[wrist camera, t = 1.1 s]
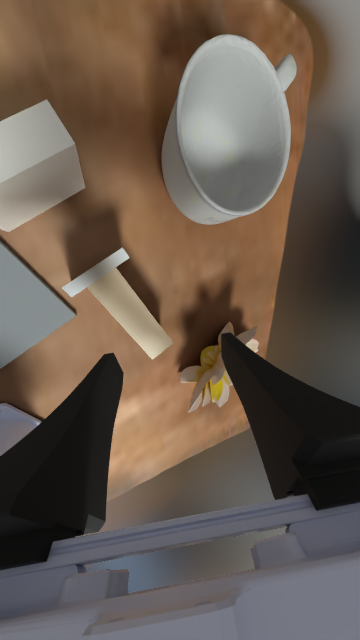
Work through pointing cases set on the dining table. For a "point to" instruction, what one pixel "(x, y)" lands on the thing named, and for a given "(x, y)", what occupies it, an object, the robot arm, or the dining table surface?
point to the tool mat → (25, 307)
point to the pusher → (122, 303)
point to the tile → (35, 165)
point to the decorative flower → (214, 371)
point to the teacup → (227, 131)
